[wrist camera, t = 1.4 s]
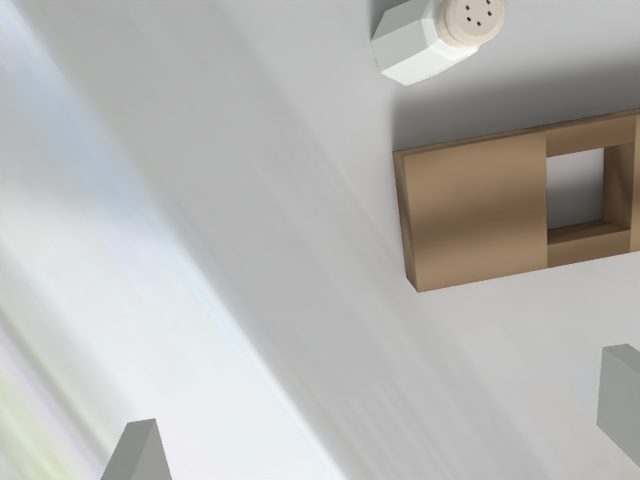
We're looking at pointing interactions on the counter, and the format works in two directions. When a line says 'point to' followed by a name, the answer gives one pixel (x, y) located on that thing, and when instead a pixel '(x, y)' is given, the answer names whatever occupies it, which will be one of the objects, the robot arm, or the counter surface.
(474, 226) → the brown flat tray
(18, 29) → the counter surface
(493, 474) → the counter surface
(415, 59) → the pepper shaker
